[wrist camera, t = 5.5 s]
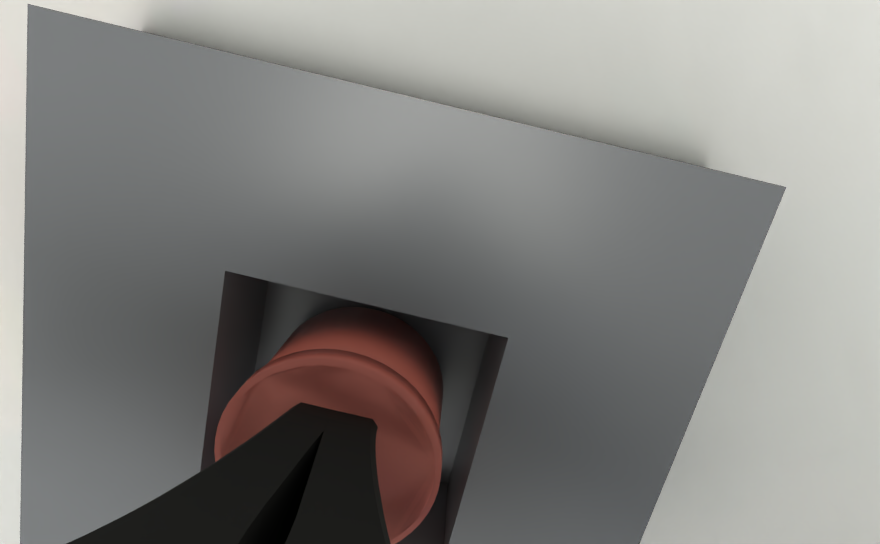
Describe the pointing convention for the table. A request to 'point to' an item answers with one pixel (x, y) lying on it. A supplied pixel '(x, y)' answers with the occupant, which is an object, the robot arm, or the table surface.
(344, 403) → the red button
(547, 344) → the console
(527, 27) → the table surface
